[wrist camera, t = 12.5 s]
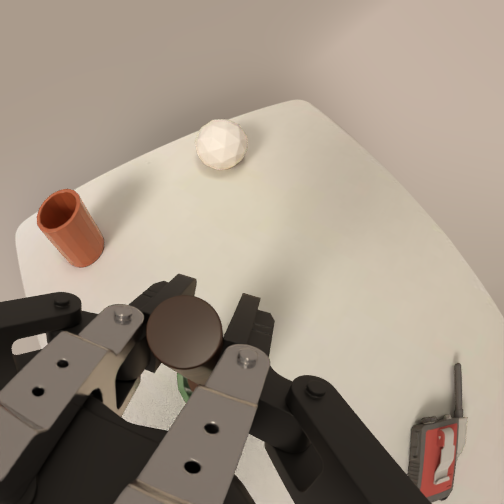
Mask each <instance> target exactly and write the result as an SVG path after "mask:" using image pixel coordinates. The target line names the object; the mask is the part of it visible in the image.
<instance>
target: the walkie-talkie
mask: <svg viewBox="0 0 504 504" xmlns="http://www.w3.org/2000/svg"><path fill="white" fill-rule="evenodd" d="M454 370H455V411H454V418H451V415H450V414H448V415H444V418H443V419H442V420H438V421H436V420H437V417H427V418H423V419H422V420H421V422H422V423H423V424H419V425H414V426H413V427H412V430H411V447H410V459H409V460H410V462H409V470H408V471H409V473H408V477H409V478H410V479H411V480H412V481H413V483H414V484H415V485H416V486H417V487H418V488H419V490H420V491H421V492H422V493H423V494H424V495H425V497H426V498H427V499H428V500H429V501H430V502H434V501H437V500H441V501H442V500H445V499H446V498H447V497H448V496H449V495H450V493H451V491H452V488H453V483H454V482H453V481H454V476H455V475H454V474H455V466H456V461H457V460H458V457H459V456H460V454H461V452H462V450H463V448H464V446H465V444H466V429H467V422H468V417H463V409H462V375H461V364H460V363H457V364H455V366H454Z"/></svg>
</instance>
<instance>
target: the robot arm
mask: <svg viewBox="0 0 504 504" xmlns="http://www.w3.org/2000/svg"><path fill="white" fill-rule="evenodd" d="M196 283H197V281H196V279H195V278H191V277H188V276H185V275H182V274H178V275H177V276H175V277H174V278H173V279H172V280H171V281H170V282H166V281H162V282H158V283H155V284H153V285H152V286H150V287H149V288H148V289H147V290H146V291H144V292H143V293H142V294H141V295H140V296H139V297H137V298H136V299H135V300H134V301H133V302H131V303H130V304H129V305H125V304H115V305H111V306H108V307H106V308H105V309H104V310H103V311H102V312H101V313H100V314H95V313H90V312H85V311H82V310H81V300H80V299H79V298H78V297H77V296H75V295H74V294H71V293H66V292H56V293H50V294H45V295H39V296H33V297H27V298H22V299H16V300H10V301H4V302H0V504H256V503H255V502H254V500H253V499H252V497H251V496H250V494H249V492H248V491H247V489H246V488H245V486H244V485H243V483H242V482H241V481H240V480H239V479H238V477H237V476H236V475H235V474H234V473H235V470H236V468H237V465H238V462H239V459H240V457H241V454H242V451H243V448H244V445H245V442H246V440H247V437H248V434H251V435H253V436H254V437H256V438H258V439H260V440H262V441H264V442H265V449H266V451H267V453H268V455H269V457H270V459H271V461H272V463H273V465H274V466H275V468H276V470H277V472H278V474H279V476H280V478H281V480H282V481H283V483H284V485H285V487H286V489H287V491H288V492H289V494H290V496H291V498H292V499H293V501H294V503H295V504H432V503H431V502H430V501H429V500H428V499H427V498H426V497H425V495H424V494H423V493H422V492H421V491H420V490H419V488H418V487H417V486H416V485H415V484H414V483H413V481H412V480H411V479H410V478H409V477H408V476H407V474H406V473H405V472H404V471H403V470H402V469H401V467H400V466H399V465H398V464H397V463H396V461H395V460H394V459H393V458H392V457H391V456H390V454H389V453H388V452H387V451H386V450H385V448H384V447H383V446H382V445H381V444H380V442H379V441H378V440H377V439H376V438H375V436H374V435H373V434H372V433H371V432H370V430H369V429H368V428H367V427H366V426H365V424H364V423H363V422H362V421H361V420H360V418H359V417H358V416H357V415H356V413H355V412H354V411H353V410H352V409H351V407H350V406H349V405H348V404H347V402H346V401H345V400H344V399H343V398H342V396H341V395H340V394H339V393H338V391H337V390H336V389H335V388H334V387H333V386H332V385H331V384H330V383H329V382H327V381H326V380H324V379H322V378H319V377H316V376H311V375H303V376H299V377H297V378H296V379H294V380H293V382H292V381H290V380H288V379H286V378H284V377H282V376H280V375H279V374H277V373H276V372H275V371H274V370H273V369H272V367H271V366H270V359H269V352H270V346H271V340H272V334H273V328H274V319H273V317H272V315H271V314H270V313H268V312H264V311H260V310H257V309H258V306H259V302H260V299H261V298H259V297H255V296H252V295H248V294H245V293H243V294H242V297H241V299H240V301H239V303H238V306H237V308H236V310H235V313H234V315H233V317H232V319H231V322H230V324H229V326H228V328H227V331H226V333H225V335H224V337H223V346H222V351H221V354H220V357H219V359H218V361H217V365H216V366H215V368H214V370H213V371H212V373H211V375H210V376H209V378H208V380H207V381H206V383H205V385H202V384H199V385H198V386H197V387H196V388H195V390H194V392H193V393H192V395H191V396H190V398H189V399H188V401H187V403H186V404H185V406H184V407H183V409H182V410H181V412H180V414H179V415H178V417H177V418H176V420H175V421H174V423H173V424H172V426H171V427H170V429H169V431H166V430H161V429H155V428H150V427H145V426H140V425H136V424H132V423H129V422H127V421H125V420H124V419H123V418H121V417H122V415H123V413H124V411H125V409H126V408H127V406H128V404H129V402H130V400H131V398H132V397H133V395H134V393H135V391H136V389H137V387H138V386H139V384H140V377H141V374H142V372H143V371H144V370H148V371H150V372H153V373H155V371H156V370H157V368H158V367H159V366H160V364H161V362H160V361H159V360H158V359H157V358H156V357H155V356H154V355H153V354H152V352H151V350H150V348H149V346H148V343H147V339H146V326H147V322H148V319H149V317H150V315H151V313H152V312H153V310H154V309H155V308H156V307H157V306H158V305H159V304H160V303H161V302H163V301H165V300H166V299H168V298H171V297H174V296H179V295H190V296H194V295H195V289H196ZM43 333H46V336H47V343H48V345H47V346H45V347H44V348H43V349H40V350H36V351H32V352H28V353H24V354H20V355H14V354H12V349H11V348H12V344H13V342H14V341H16V340H17V339H21V338H25V337H30V336H34V335H39V334H43Z"/></svg>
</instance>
